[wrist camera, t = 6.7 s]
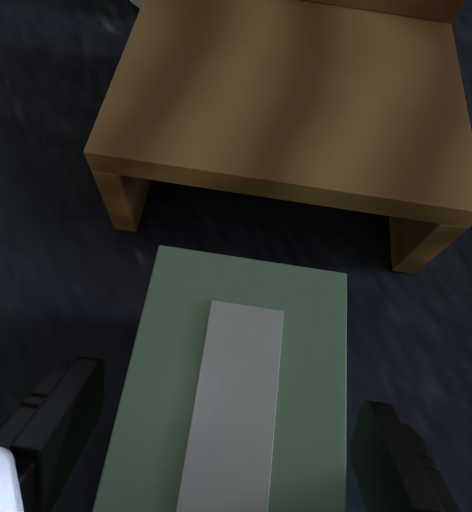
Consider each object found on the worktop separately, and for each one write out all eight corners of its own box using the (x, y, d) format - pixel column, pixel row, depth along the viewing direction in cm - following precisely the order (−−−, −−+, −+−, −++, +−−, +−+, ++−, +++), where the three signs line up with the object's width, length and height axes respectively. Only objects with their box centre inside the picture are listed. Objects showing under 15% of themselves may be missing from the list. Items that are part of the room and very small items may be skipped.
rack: (114, 229, 21) (56, 88, 13) (166, 64, 26) (149, -104, 18) (413, 274, 21) (547, 163, 13) (399, 100, 27) (485, -51, 18)
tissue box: (134, 523, 15) (69, 593, 8) (176, 323, 19) (158, 242, 11) (278, 544, 15) (348, 633, 8) (292, 340, 19) (349, 270, 11)
